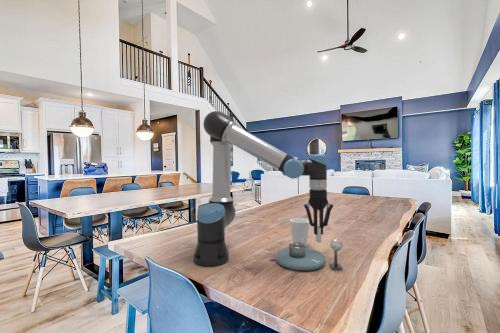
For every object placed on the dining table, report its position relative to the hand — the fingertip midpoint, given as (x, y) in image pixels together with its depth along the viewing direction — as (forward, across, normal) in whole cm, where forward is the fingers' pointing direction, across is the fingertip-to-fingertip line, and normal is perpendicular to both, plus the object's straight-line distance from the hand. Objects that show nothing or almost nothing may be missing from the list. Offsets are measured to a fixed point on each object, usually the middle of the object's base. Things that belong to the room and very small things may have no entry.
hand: (318, 241), depth 116 cm
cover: (+4, -11, -7) cm, 13 cm away
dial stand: (+7, +4, -13) cm, 15 cm away
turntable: (+6, -9, -7) cm, 13 cm away
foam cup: (+7, -6, +12) cm, 15 cm away
